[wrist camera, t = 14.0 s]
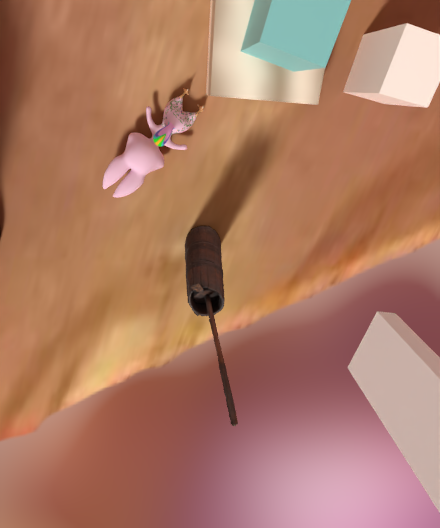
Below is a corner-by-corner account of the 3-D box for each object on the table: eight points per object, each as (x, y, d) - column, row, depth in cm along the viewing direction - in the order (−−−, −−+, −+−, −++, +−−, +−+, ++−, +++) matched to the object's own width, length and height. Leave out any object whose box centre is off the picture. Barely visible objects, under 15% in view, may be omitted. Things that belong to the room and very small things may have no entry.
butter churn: (156, 213, 44) (140, 367, 20) (225, 199, 45) (291, 335, 20) (172, 270, 49) (173, 454, 25) (234, 258, 49) (297, 426, 25)
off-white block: (343, 92, 40) (379, 93, 33) (363, 34, 38) (406, 23, 31) (384, 103, 42) (427, 107, 35) (406, 49, 39) (458, 41, 32)
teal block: (240, 51, 33) (259, 41, 26) (260, -22, 30) (288, -55, 23) (293, 71, 34) (325, 67, 27) (317, 3, 32) (358, -20, 25)
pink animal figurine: (172, 78, 38) (88, 172, 40) (179, 69, 33) (82, 178, 34) (209, 120, 41) (129, 207, 43) (221, 118, 36) (129, 218, 37)
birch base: (205, 94, 39) (210, 95, 34) (212, -39, 33) (218, -57, 29) (301, 102, 41) (317, 104, 36) (323, -22, 35) (345, -38, 31)
